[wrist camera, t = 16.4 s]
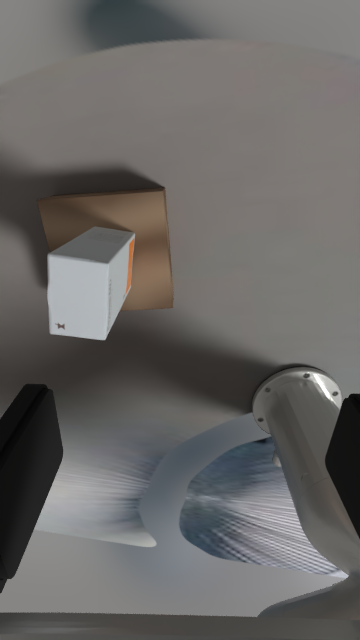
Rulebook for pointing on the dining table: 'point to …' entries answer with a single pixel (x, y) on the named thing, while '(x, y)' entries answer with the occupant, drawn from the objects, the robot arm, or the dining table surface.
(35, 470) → the robot arm
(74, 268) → the skincare box
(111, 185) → the dining table surface
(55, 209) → the tan flat square block
